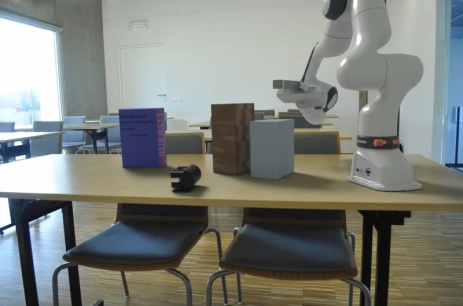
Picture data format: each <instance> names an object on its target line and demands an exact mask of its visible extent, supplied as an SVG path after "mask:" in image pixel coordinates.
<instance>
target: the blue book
mask: <svg viewBox="0 0 463 306" xmlns="http://www.w3.org/2000/svg"><path fill="white" fill-rule="evenodd" d="M165 116H166V115H165V107H138V108H137V107H135V108H132V107H131V108H119V109H118V122H119V123H118V124H119V136H120V137H119V138H120V150H121V151H120V152H121V162H122V163H121V164H122V168H126V169H128V168H131V169H132V168H133V169H134V168H142V169H143V168H144V169H145V168H146V169H147V168H165V167H167V166H168V154H167V138H166V137H167V135H166V119H165V118H166V117H165Z"/></svg>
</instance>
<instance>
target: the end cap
mask: <svg viewBox="0 0 463 306" xmlns="http://www.w3.org/2000/svg"><path fill="white" fill-rule="evenodd" d="M170 178H171V179H178V181H171V182H170V186H171V188H172V189H171V192H172V193H187V192H188V191H190V190H191V189H193V187H194V186H196V184H197V183H198V182H199V181H200V180H201V178H202V170H201V168H200V167H199V166H198V165H196V164H189V166H186V165H184V166H183V165H182V166H181V165H179V166H177V167H176V169H173V170H171V171H170Z"/></svg>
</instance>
